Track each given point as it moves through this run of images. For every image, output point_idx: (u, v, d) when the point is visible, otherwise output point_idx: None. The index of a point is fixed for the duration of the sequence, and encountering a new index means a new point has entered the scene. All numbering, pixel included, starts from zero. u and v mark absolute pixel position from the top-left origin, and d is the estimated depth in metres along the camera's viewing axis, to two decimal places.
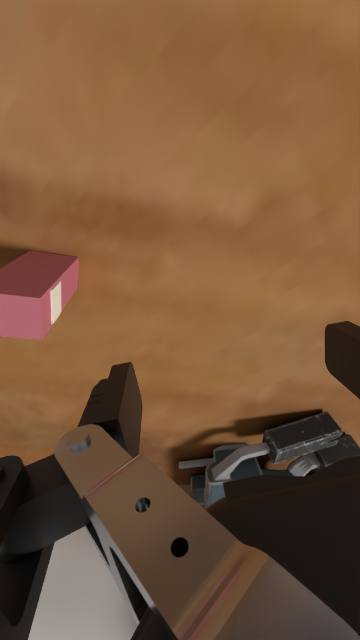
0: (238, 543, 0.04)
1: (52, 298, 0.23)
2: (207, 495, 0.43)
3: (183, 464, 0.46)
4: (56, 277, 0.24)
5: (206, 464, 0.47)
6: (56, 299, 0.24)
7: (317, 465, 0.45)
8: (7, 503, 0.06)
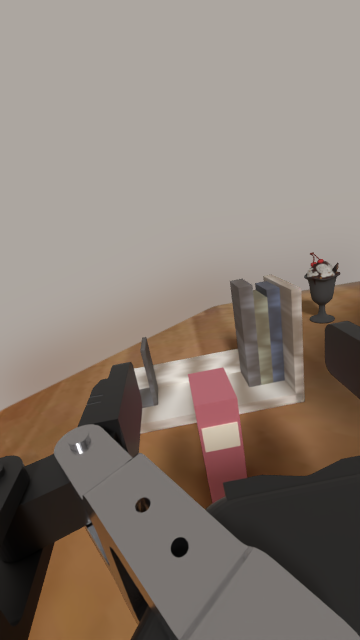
0: (237, 543, 0.04)
1: (229, 424, 0.23)
2: None
3: None
4: (242, 442, 0.24)
5: None
6: (224, 435, 0.23)
7: None
8: (7, 503, 0.06)
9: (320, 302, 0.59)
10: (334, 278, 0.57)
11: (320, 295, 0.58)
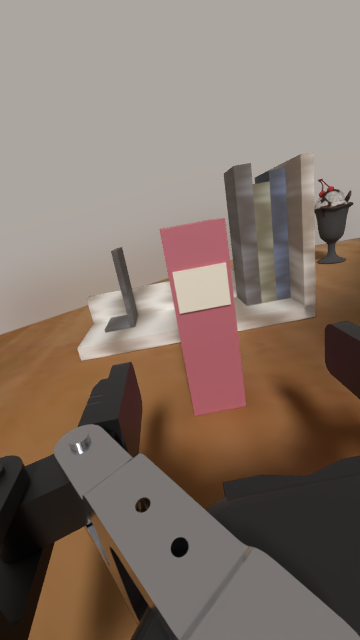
0: (238, 543, 0.04)
1: (213, 266, 0.15)
2: None
3: None
4: (233, 302, 0.17)
5: None
6: (207, 285, 0.16)
7: None
8: (7, 503, 0.06)
9: (330, 239, 0.52)
10: (346, 208, 0.49)
11: (330, 229, 0.51)
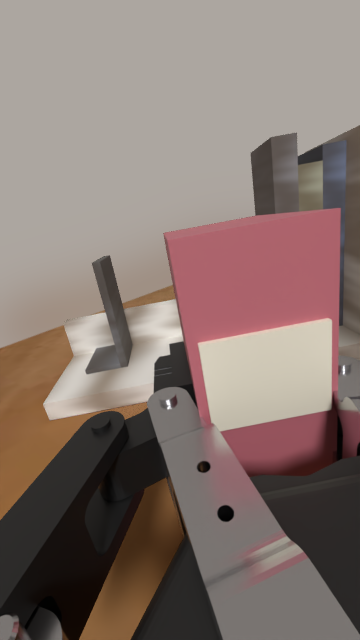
0: (238, 543, 0.04)
1: (299, 328, 0.06)
2: None
3: None
4: (332, 399, 0.07)
5: None
6: (281, 371, 0.07)
7: None
8: (107, 453, 0.06)
9: None
10: None
11: None
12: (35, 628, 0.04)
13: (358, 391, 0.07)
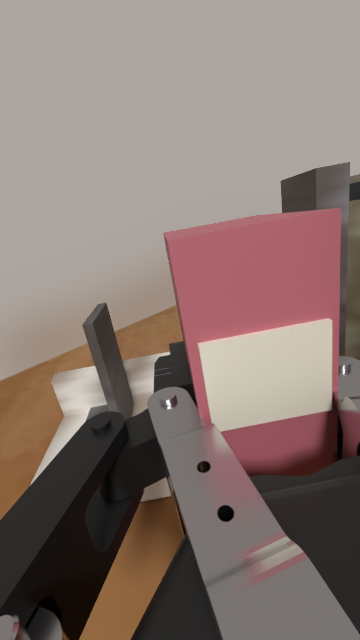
0: (238, 543, 0.04)
1: (300, 329, 0.06)
2: None
3: None
4: (332, 400, 0.07)
5: None
6: (281, 371, 0.06)
7: None
8: (107, 453, 0.06)
9: None
10: None
11: None
12: (35, 628, 0.04)
13: (358, 391, 0.07)
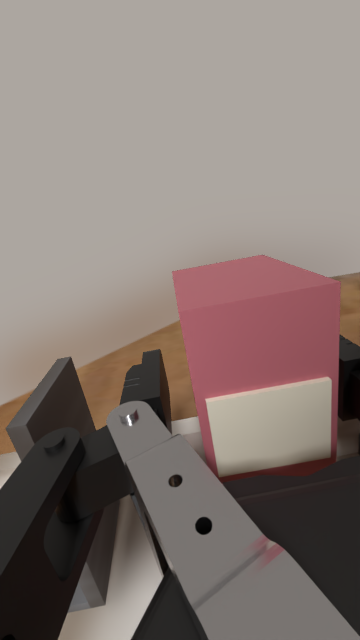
0: (238, 543, 0.04)
1: (301, 387, 0.07)
2: None
3: None
4: (332, 445, 0.08)
5: None
6: (283, 424, 0.07)
7: None
8: (64, 471, 0.06)
9: None
10: None
11: None
12: None
13: None
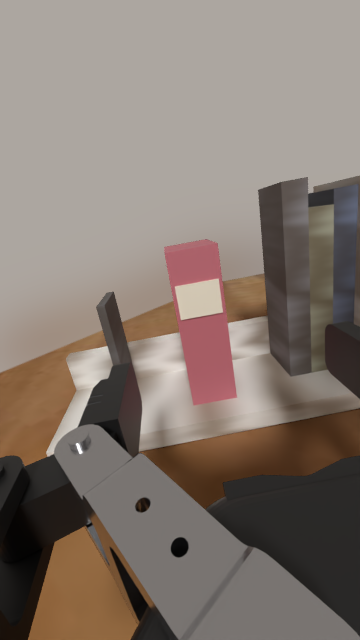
0: (238, 543, 0.04)
1: (208, 281, 0.19)
2: None
3: None
4: (225, 310, 0.20)
5: None
6: (203, 296, 0.19)
7: None
8: (7, 503, 0.06)
9: None
10: None
11: None
12: None
13: None
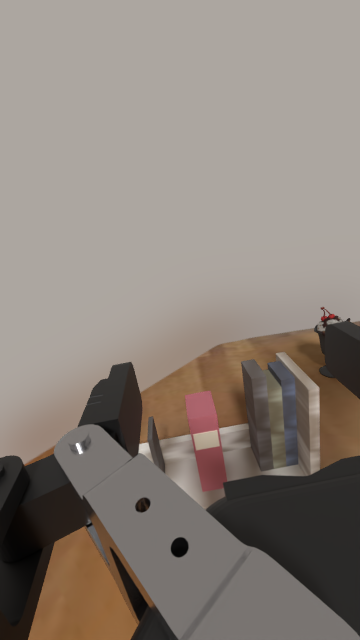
0: (238, 543, 0.04)
1: (211, 432, 0.34)
2: None
3: None
4: None
5: None
6: (208, 439, 0.34)
7: None
8: (7, 503, 0.06)
9: None
10: None
11: None
12: None
13: None
